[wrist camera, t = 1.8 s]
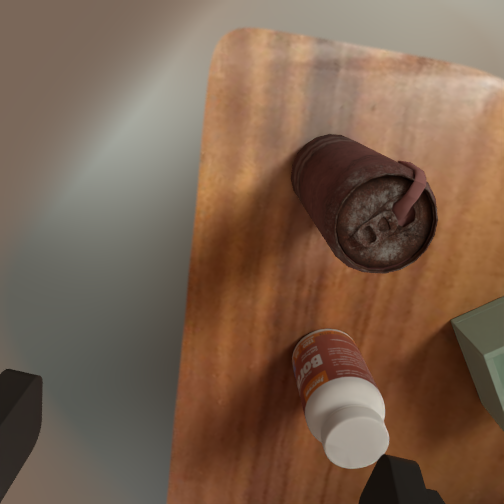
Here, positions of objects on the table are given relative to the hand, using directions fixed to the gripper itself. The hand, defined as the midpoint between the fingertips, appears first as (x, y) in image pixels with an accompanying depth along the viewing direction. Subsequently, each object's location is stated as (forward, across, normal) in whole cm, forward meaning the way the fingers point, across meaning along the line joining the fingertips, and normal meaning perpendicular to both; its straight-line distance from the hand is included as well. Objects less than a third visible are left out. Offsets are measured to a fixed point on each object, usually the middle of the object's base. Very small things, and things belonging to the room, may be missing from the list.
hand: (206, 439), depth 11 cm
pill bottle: (+28, -10, +17) cm, 34 cm away
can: (+29, -5, +1) cm, 29 cm away
